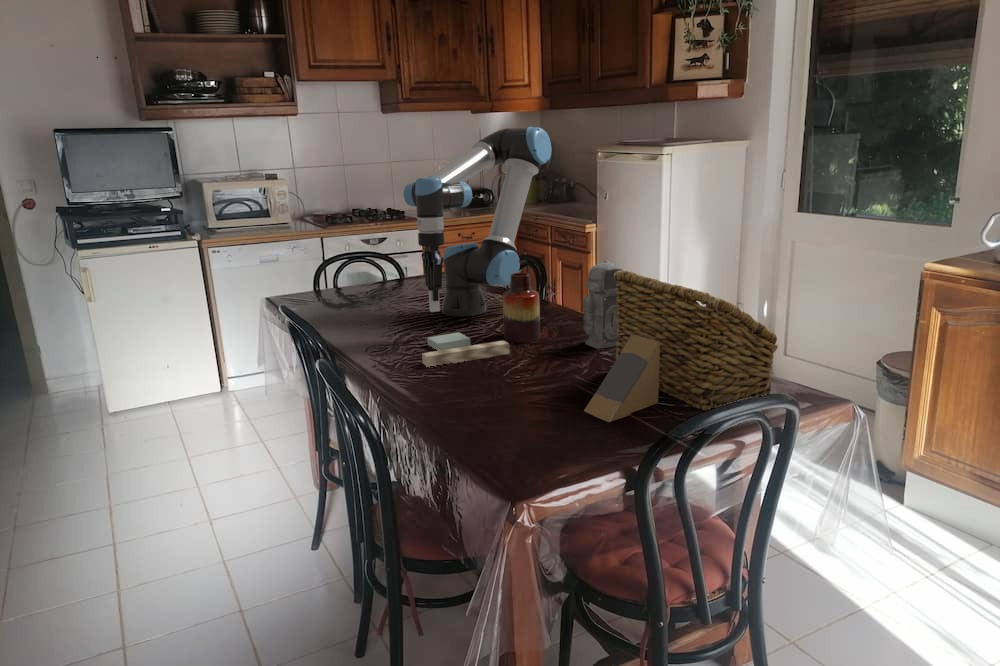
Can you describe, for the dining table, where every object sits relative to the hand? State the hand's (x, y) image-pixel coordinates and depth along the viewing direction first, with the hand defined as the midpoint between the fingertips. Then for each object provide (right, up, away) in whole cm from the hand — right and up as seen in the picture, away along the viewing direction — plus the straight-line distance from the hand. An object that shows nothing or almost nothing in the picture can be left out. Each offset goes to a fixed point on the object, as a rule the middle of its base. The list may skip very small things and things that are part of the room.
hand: (434, 311), depth 213 cm
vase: (+26, -9, 0) cm, 28 cm away
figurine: (+49, -11, -9) cm, 51 cm away
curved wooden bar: (+10, -15, -18) cm, 26 cm away
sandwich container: (+46, -24, -56) cm, 76 cm away
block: (+5, -12, -6) cm, 14 cm away
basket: (+66, -19, -41) cm, 80 cm away
